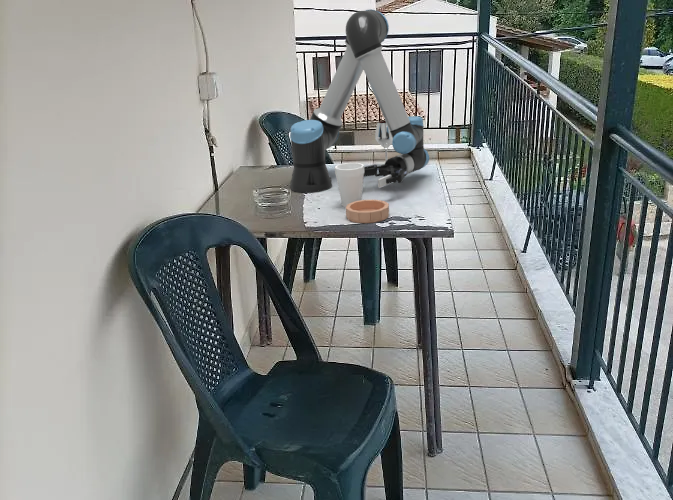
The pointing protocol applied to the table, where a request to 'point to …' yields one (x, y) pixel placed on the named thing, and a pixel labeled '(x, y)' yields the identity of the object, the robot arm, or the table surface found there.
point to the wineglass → (383, 136)
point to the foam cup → (350, 182)
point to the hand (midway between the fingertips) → (362, 181)
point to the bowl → (367, 211)
